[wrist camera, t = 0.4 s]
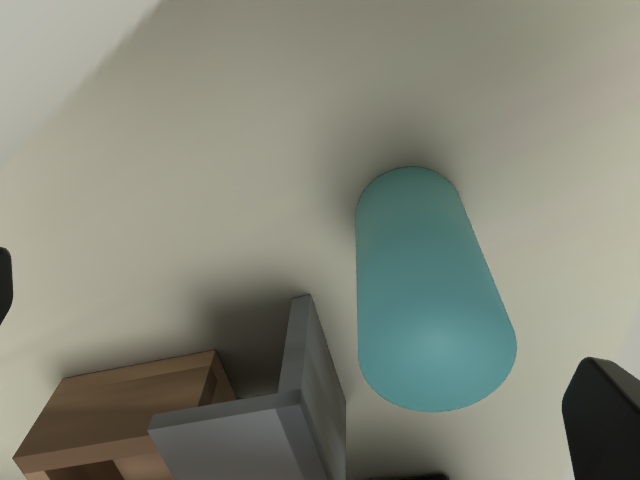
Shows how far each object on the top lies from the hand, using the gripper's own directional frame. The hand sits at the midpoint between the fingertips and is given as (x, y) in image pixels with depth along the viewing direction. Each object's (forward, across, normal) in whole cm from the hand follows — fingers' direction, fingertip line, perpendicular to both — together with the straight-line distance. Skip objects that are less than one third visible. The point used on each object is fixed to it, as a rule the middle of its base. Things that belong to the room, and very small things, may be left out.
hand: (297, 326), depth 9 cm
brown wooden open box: (+13, +3, +14) cm, 19 cm away
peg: (+13, -4, +3) cm, 14 cm away
